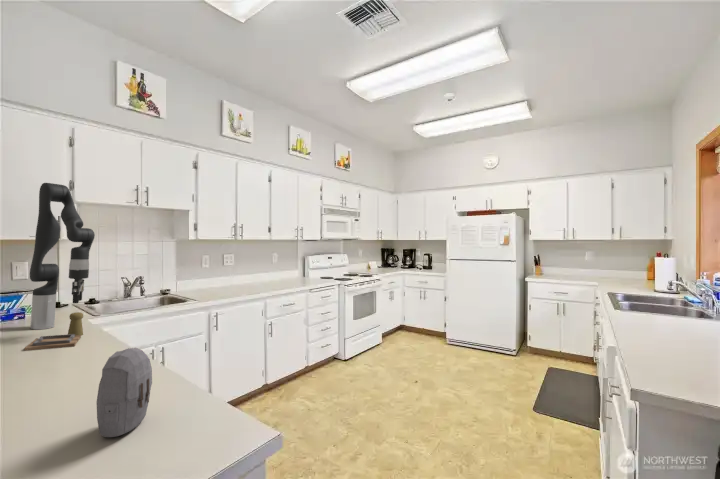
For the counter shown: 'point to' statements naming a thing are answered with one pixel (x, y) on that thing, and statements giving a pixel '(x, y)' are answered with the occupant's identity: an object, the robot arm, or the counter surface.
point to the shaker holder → (53, 342)
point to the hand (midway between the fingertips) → (77, 301)
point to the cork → (76, 324)
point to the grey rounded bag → (123, 392)
